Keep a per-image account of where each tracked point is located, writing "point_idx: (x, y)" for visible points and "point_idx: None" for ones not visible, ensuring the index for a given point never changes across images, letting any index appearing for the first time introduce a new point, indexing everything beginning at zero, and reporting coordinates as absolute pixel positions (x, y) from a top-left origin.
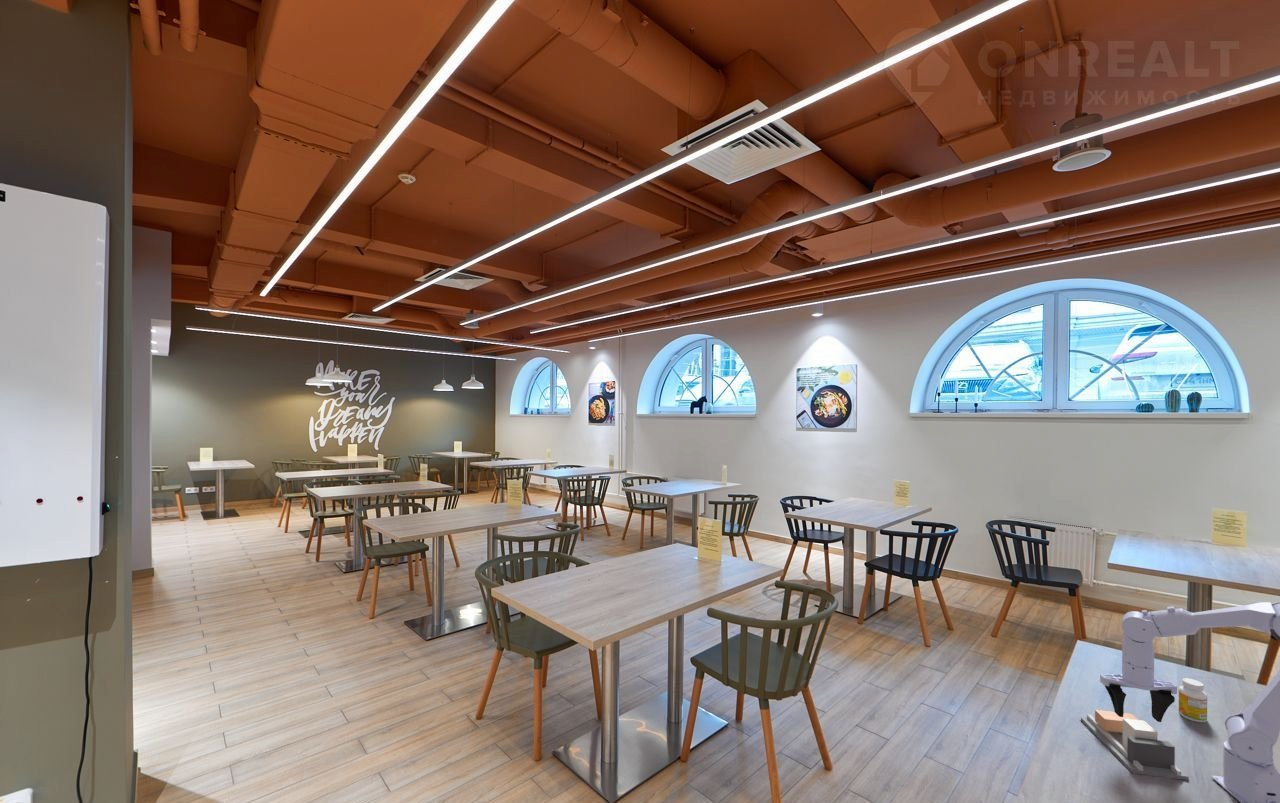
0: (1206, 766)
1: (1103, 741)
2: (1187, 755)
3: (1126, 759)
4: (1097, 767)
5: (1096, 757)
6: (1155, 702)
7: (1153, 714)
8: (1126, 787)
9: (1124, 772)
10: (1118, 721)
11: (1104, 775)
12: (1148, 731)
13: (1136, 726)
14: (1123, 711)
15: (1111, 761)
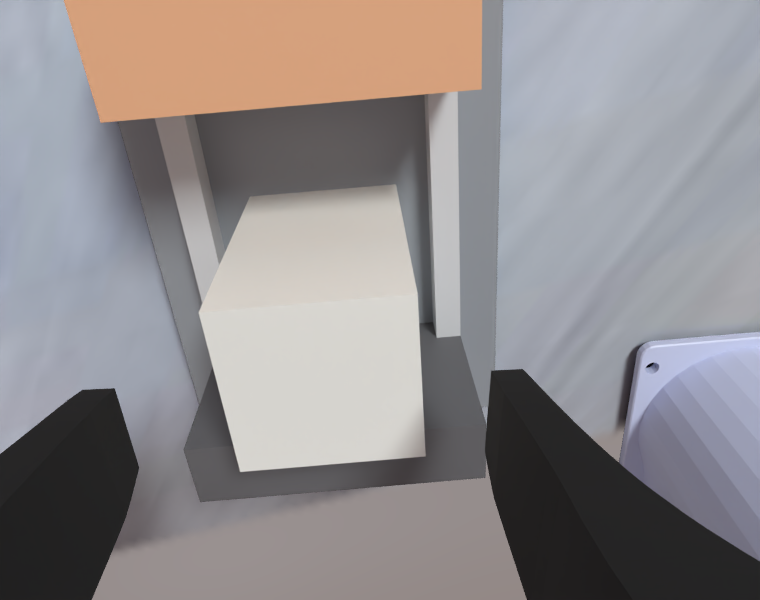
0: (713, 230)
1: (131, 162)
2: (691, 130)
3: None
4: (38, 422)
5: (51, 335)
6: (562, 598)
7: (500, 415)
8: (141, 520)
9: (172, 422)
10: (242, 107)
11: None
12: (352, 458)
13: (276, 424)
14: (111, 551)
15: (132, 348)
